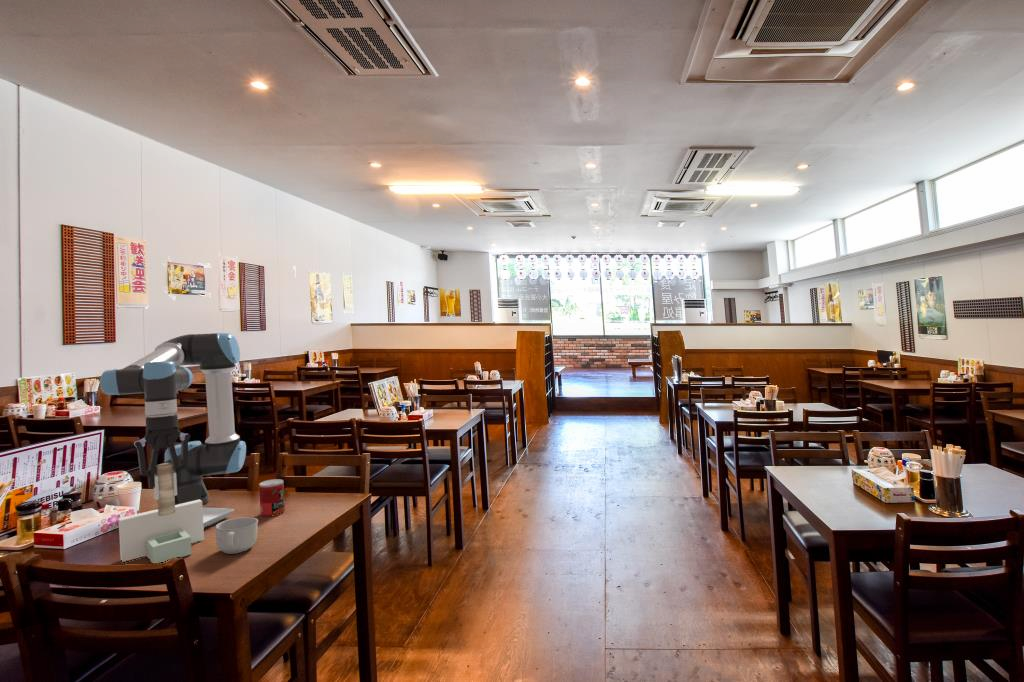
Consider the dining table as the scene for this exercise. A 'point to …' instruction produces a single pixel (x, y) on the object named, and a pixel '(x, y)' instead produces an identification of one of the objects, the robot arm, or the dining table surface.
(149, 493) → the dining table surface
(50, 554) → the dining table surface
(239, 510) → the dining table surface
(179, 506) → the wall
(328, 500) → the dining table surface
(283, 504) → the canned food
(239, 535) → the teacup
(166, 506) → the dowel
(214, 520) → the salad plate
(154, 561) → the holed block
